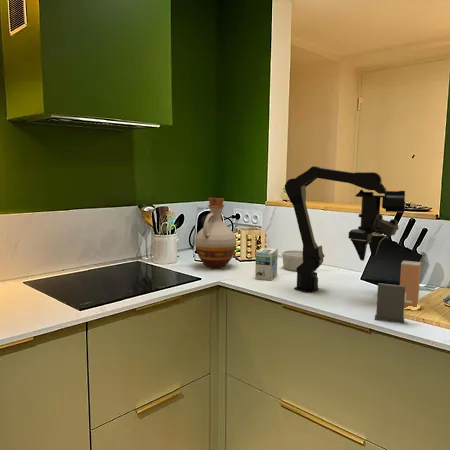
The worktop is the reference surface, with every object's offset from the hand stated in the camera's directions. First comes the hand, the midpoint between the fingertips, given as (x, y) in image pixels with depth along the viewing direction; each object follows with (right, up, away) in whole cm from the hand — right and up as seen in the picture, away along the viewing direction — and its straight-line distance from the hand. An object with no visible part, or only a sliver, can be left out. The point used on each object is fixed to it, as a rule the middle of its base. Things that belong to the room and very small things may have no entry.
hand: (368, 258), depth 137 cm
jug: (-52, -7, +43) cm, 67 cm away
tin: (+10, -14, -8) cm, 19 cm away
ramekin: (-16, -8, +42) cm, 46 cm away
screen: (-1, -16, -20) cm, 26 cm away
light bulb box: (-31, -10, +27) cm, 42 cm away
